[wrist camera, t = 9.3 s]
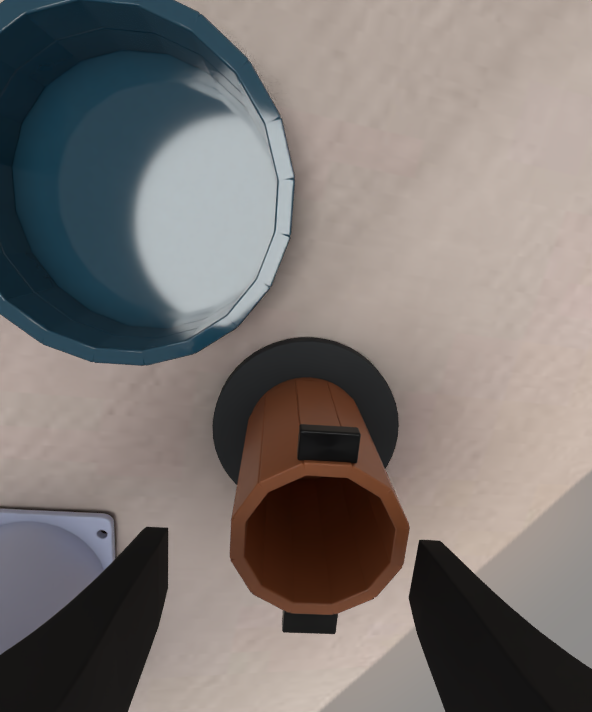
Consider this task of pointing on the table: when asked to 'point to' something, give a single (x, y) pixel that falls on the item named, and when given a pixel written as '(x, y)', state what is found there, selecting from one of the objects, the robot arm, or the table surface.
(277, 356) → the disc
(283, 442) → the small pot
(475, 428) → the table surface
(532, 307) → the table surface
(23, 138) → the blue shallow round container
